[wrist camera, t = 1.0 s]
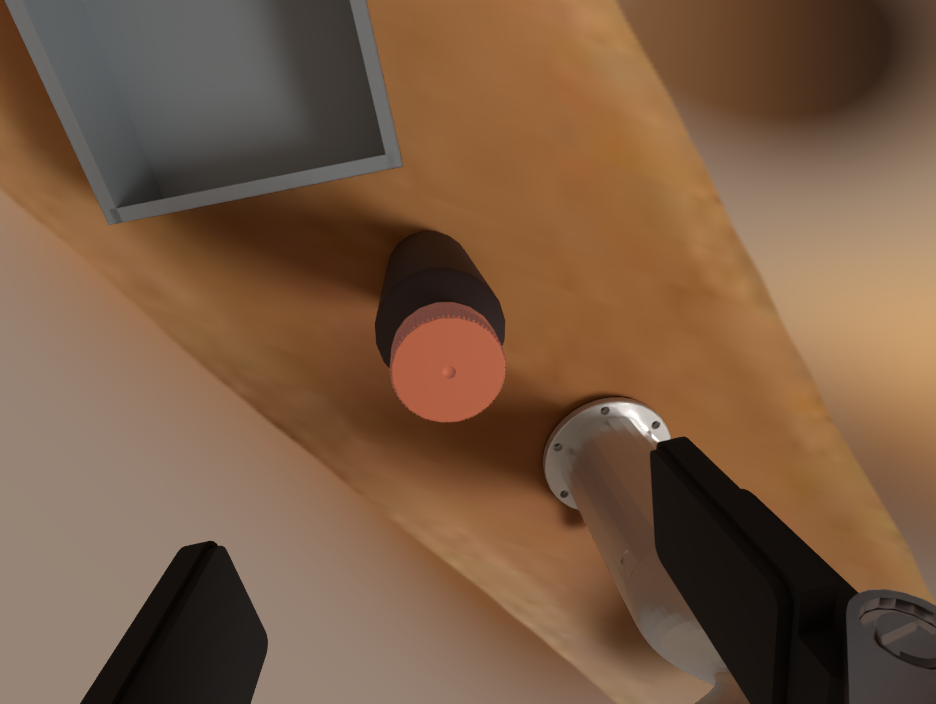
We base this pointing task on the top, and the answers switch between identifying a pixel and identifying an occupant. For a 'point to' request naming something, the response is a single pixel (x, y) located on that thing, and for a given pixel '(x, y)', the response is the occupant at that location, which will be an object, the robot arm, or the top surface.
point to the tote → (211, 96)
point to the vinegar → (440, 330)
